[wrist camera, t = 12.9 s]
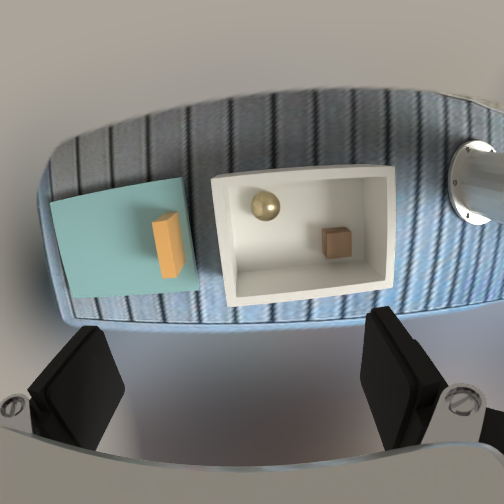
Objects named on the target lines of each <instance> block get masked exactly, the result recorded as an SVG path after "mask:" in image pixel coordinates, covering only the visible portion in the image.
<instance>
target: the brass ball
mask: <svg viewBox="0 0 504 504" xmlns="http://www.w3.org/2000/svg"><path fill="white" fill-rule="evenodd" d="M251 210H252V213H253V215H254V216H255V217H256V218H257V219H259V220H261V221H270V220H273V219H274V218H276V217H277V215H278V214H279V212H280V202H279V200H278V198H277V197H276V196H275V195H274V194H273V193H272V192H269V191H261V192H259V193H257V194H256V195H255V196H254V197H253V199H252V201H251Z"/></svg>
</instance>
